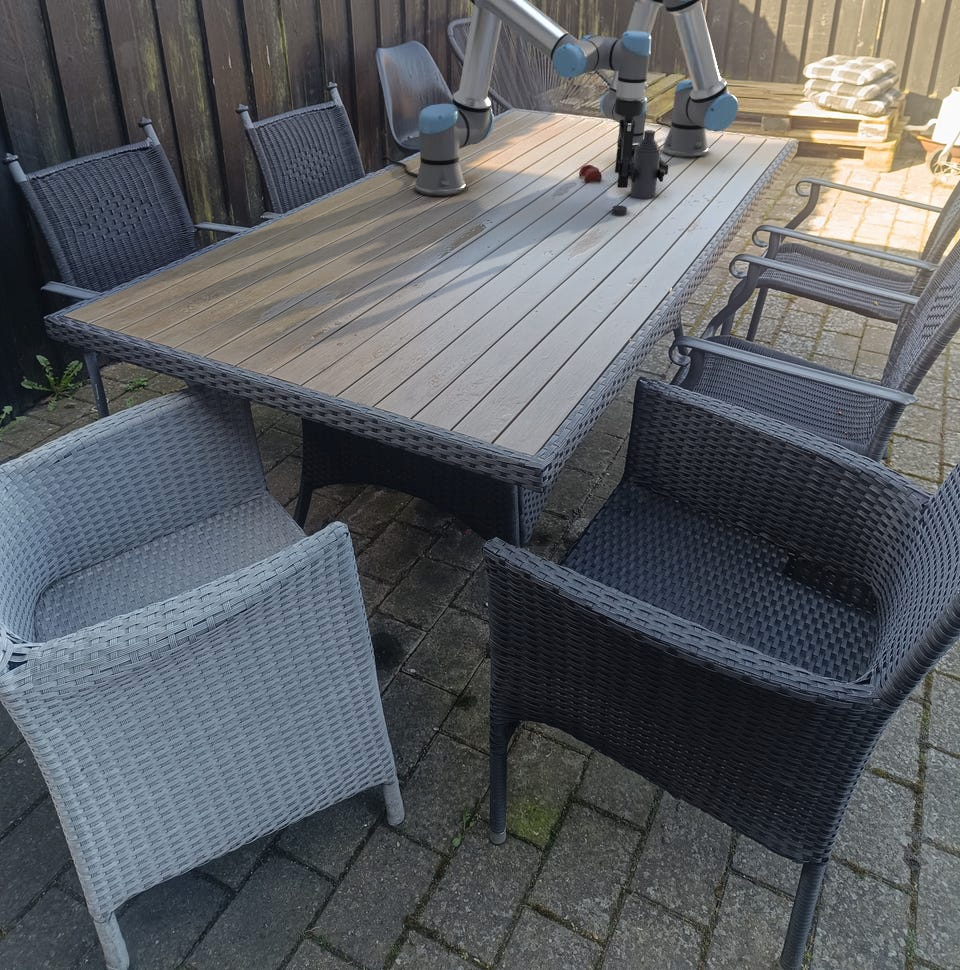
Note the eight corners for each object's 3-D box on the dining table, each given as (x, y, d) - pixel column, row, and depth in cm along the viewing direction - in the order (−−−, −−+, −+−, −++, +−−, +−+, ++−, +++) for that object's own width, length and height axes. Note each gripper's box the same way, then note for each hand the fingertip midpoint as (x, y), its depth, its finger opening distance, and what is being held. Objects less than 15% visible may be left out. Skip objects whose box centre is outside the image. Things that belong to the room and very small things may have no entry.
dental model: (594, 161, 269) (603, 168, 262) (593, 174, 271) (602, 181, 265) (577, 162, 268) (586, 169, 261) (577, 176, 270) (586, 183, 264)
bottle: (634, 190, 258) (640, 127, 248) (658, 193, 256) (665, 129, 245) (627, 196, 253) (633, 132, 242) (651, 200, 250) (659, 135, 240)
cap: (618, 216, 238) (618, 211, 237) (608, 212, 241) (609, 207, 240) (629, 214, 240) (630, 208, 239) (620, 210, 243) (620, 204, 242)
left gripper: (648, 109, 212) (637, 194, 225) (640, 88, 232) (631, 167, 245) (618, 108, 213) (609, 193, 225) (613, 87, 233) (605, 166, 245)
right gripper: (666, 168, 267) (680, 190, 249) (602, 168, 267) (612, 190, 248) (669, 143, 263) (684, 163, 244) (604, 144, 263) (614, 164, 244)
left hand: (620, 180), depth 235 cm, fingers open, 13 cm apart
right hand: (648, 177), depth 246 cm, fingers closed on bottle, 7 cm apart
